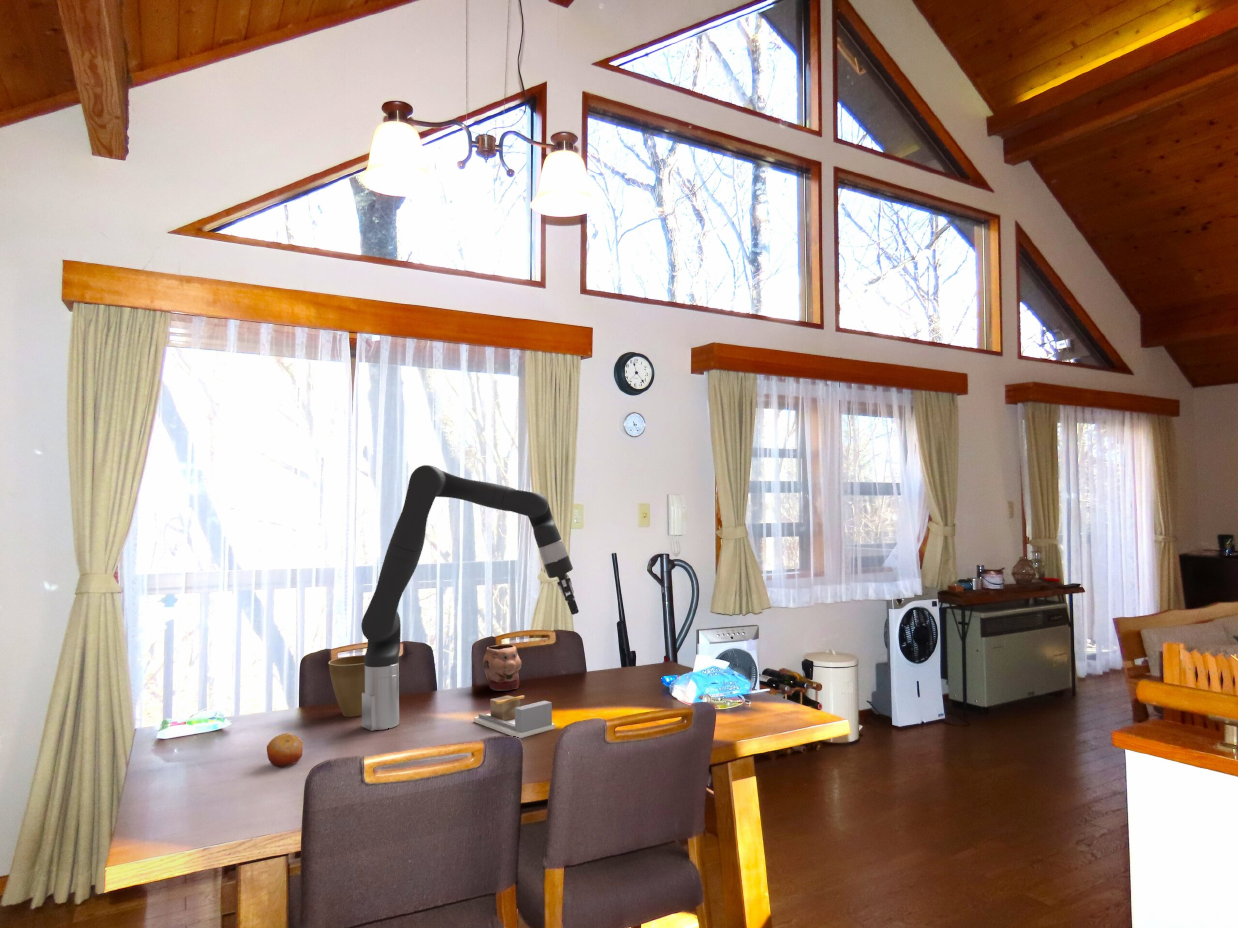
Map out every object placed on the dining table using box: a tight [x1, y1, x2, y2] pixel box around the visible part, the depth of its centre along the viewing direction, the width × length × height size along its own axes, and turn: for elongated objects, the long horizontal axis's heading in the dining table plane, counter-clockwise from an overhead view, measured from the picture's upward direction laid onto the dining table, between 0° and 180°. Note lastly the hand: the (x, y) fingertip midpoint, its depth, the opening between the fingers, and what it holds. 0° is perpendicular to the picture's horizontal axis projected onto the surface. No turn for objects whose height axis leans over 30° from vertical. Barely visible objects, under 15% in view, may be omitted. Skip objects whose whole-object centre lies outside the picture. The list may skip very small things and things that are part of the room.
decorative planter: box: [482, 644, 522, 692], centre depth 256 cm, size 20×12×14 cm, turn 36°
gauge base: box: [473, 700, 556, 739], centre depth 212 cm, size 12×22×7 cm, turn 42°
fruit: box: [266, 733, 304, 769], centre depth 184 cm, size 8×8×8 cm
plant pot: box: [328, 654, 365, 718], centre depth 228 cm, size 15×15×16 cm
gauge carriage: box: [489, 695, 525, 721], centre depth 215 cm, size 9×6×6 cm, turn 132°
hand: (575, 611), depth 219 cm, fingers open, 8 cm apart
